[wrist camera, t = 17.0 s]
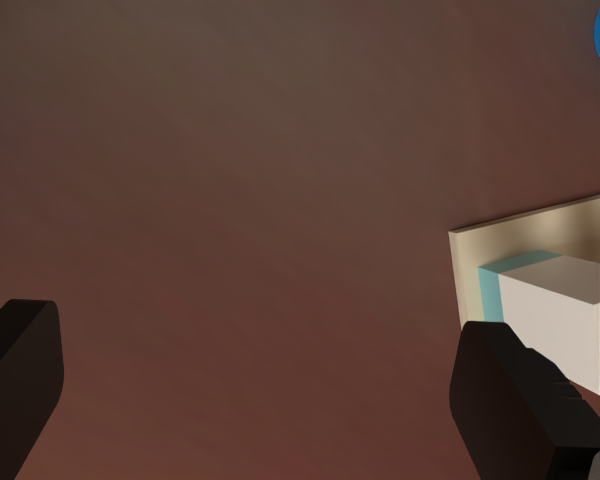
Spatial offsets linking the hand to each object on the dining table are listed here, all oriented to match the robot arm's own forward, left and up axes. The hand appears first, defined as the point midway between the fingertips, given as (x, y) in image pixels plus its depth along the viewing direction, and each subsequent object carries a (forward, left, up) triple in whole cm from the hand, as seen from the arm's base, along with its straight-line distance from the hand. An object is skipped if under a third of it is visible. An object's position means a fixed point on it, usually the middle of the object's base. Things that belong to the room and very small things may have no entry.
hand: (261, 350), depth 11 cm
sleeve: (+2, +24, -24) cm, 35 cm away
